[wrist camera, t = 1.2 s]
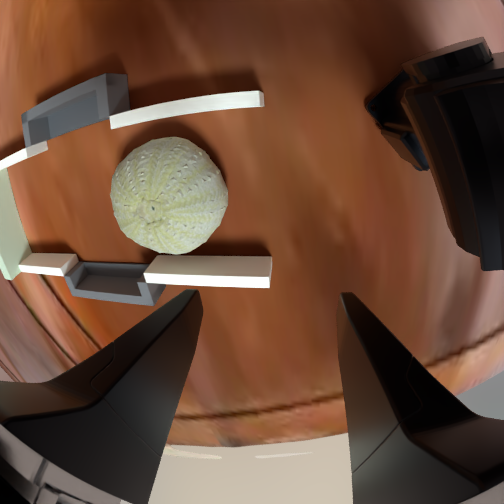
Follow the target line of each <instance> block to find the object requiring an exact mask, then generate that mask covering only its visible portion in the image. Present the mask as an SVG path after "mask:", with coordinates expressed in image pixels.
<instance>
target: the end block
mask: <svg viewBox="0 0 504 504" xmlns="http://www.w3.org/2000/svg"><path fill="white" fill-rule="evenodd" d="M30 254H32V251H31V249H30V246H29V243H28V241H27V238H26V235H25V232H24V229H23V226H22V223H21V220H20V217H19V214H18V210H17V207H16V203H15V200H14V196H13V192H12V188H11V184H10V180H9V176H8V171H7V167H6V168H4V169H2V170H0V268H1V271H2V273H3V275H4V277H5V279H8V280H13V279H14V278H15V277H16V276H17V275H18V274H19V273H20V272H21V270H20V268H19V264H20V263H21V262H22V261H23V260H24V259H26V258H27V257H28V256H29V255H30Z"/></svg>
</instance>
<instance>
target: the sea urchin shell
mask: <svg viewBox="0 0 504 504" xmlns="http://www.w3.org/2000/svg"><path fill="white" fill-rule="evenodd" d="M110 196H111V199H112V204H113V210H114V215H115V217H116V219H117V221H118V224H119V227H120V229H121V230H122V231H123V232H124V233H125V234H126V236H127V237H129V238H131V239H133V240H134V241H135V242H136V243H138V244H139V245H140V246H144V247H147V248H150V249H152V250H154V251H157V252H159V253H170V254H175V255H177V254H183V253H187V252H191V251H192V250H194V249H195V248H197V247H198V246H200V245H201V244H203V243H205V242H206V241H207V239H208V238H209V237H210V235H211V234H212V233H213V232H214V230H215V229H216V228H217V227H218V226H219V225H220V224H221V220H222V217H223V215H224V213H225V210H226V207H227V205H228V189H227V188H226V184H225V182H224V180H223V178H222V175H221V173H220V170H218V168H217V166H216V165H215V164H214V163H213V162H212V161H211V159H210V158H209V155H208V154H206V152H205V151H204V150H202V149H201V148H199V147H198V146H196V145H195V144H193V143H192V142H190V141H189V140H188V139H187V140H186V139H183V138H179V137H166V138H160V139H156V140H154V139H152V140H151V141H148V142H147V143H145V144H144V145H142V146H140V147H138V148H135V149H134V150H133V151H132V152H131V153H130V154H129V155H128V156H127V157H126V158H125V159H124V160H123V161H122V162H120V164H118V166H117V169H116V171H115V173H114V175H113V177H112V186H111V194H110Z"/></svg>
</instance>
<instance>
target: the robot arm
mask: <svg viewBox="0 0 504 504" xmlns="http://www.w3.org/2000/svg"><path fill="white" fill-rule="evenodd" d="M401 66H402V67H403V70H402V71H400V72H399V73H398V74H397V75H396V76H395V77H394V78H393V79H392V80H391V81H390V82H389V83H388V84H387V85H386V86H385V87H383V88H382V89H381V90H380V91H379V92H378V93H377V94H376V95H375V96H374V97H373V98H372V99H371V100H370V101H369V102H368V103H367V104H366V110H367V112H368V113H369V114H370V115H371V116H372V117H373V118H374V119H375V120H376V121H377V123H378V124H379V125H380V126H381V127H382V129H381V134H382V135H383V136H384V137H385V139H386V140H387V141H388V142H389V143H390V145H391V146H392V147H393V148H394V149H395V151H396V152H397V153H398V154H399V156H400V157H401V158H402V159H404V160H406V161H408V162H410V163H411V164H412V165H413V166H414V168H415V169H417V170H419V171H423V170H425V171H428V170H429V169H430V170H431V173H432V176H433V178H434V181H435V184H436V187H437V190H438V193H439V197H440V200H441V203H442V206H443V210H444V213H445V217H446V221H447V225H448V227H449V229H450V231H451V233H452V235H453V237H454V238H455V239H456V243H457V245H458V246H459V247H461V248H462V249H463V250H465V251H466V252H469V253H471V254H473V255H476V256H478V257H480V263H481V269H482V270H483V271H493V270H504V52H501V53H494V54H492V53H491V51H490V49H489V47H488V45H487V43H486V41H485V39H484V37H480V38H475V39H471V40H467V41H463V42H459V43H456V44H453V45H450V46H447V47H444V48H441V49H438V50H435V51H433V52H430V53H427V54H425V55H422V56H419V57H417V58H414V59H412V60H409V61H407V62H405V63H402V64H401ZM371 105H375V107H376V109H375V111H372V110H371ZM202 317H203V306H202V302H201V297H200V293H199V291H198V290H197V289H186V290H184V291H183V292H182V293H180V294H179V295H177V296H176V297H174V298H173V299H172V300H170V301H169V302H167V303H166V304H165V305H163V306H162V307H160V308H159V309H157V310H156V311H155V312H153V313H152V314H150V315H149V316H148V317H146V318H145V319H143V320H142V321H141V322H139V323H138V324H136V325H135V326H134V327H132V328H131V329H129V330H128V331H127V332H125V333H124V334H122V335H121V336H120V337H118V338H117V339H115V340H114V342H111V343H110V344H108V345H107V346H105V347H104V348H103V349H101V350H100V351H98V352H97V353H95V354H94V355H92V356H91V357H89V358H87V359H86V360H84V361H83V362H81V363H79V364H78V365H76V366H74V367H73V368H71V369H69V370H67V371H66V372H64V373H62V374H61V375H59V376H57V377H56V378H54V379H52V380H49V381H47V382H42V383H22V382H8V381H0V504H120V501H121V499H122V500H124V501H127V502H129V503H132V504H148V501H149V498H150V494H151V491H152V487H153V484H154V480H155V477H156V474H157V470H158V467H159V464H160V461H161V456H162V454H163V450H164V447H165V444H166V441H167V437H168V434H169V431H170V428H171V425H172V421H173V418H174V415H175V412H176V409H177V406H178V403H179V400H180V397H181V393H182V390H183V387H184V384H185V381H186V378H187V375H188V372H189V369H190V366H191V363H192V360H193V357H194V354H195V350H196V346H197V341H198V336H199V331H200V326H201V321H202ZM337 338H338V359H339V366H340V373H341V379H342V386H343V394H344V401H345V409H346V417H347V426H348V436H349V446H350V458H351V470H352V488H353V504H504V420H499V419H493V418H487V417H483V416H480V415H478V414H476V413H474V412H472V411H471V410H470V409H468V408H467V407H466V406H465V405H464V404H463V403H462V402H461V401H460V400H458V399H457V398H456V397H455V396H454V395H453V394H452V393H451V392H450V391H449V390H447V389H446V388H445V387H444V386H443V385H442V384H441V383H440V382H439V381H438V380H437V379H436V378H434V377H433V376H432V375H431V374H430V373H429V372H428V371H427V370H426V369H425V367H424V366H423V365H422V364H421V363H420V362H419V361H418V360H417V359H416V358H415V357H414V356H413V355H412V354H411V353H410V351H409V350H408V349H407V348H406V347H405V346H404V345H403V344H402V343H401V342H400V341H399V340H398V339H397V338H396V336H395V335H394V334H393V333H392V332H391V331H390V330H389V329H388V328H387V327H386V326H385V325H384V324H383V323H382V322H381V321H380V320H379V319H378V318H377V317H376V316H375V315H374V314H373V313H372V312H371V310H370V309H369V308H368V307H367V306H366V305H365V304H364V303H363V302H362V301H361V300H360V299H359V298H358V297H357V296H356V295H355V294H354V293H352V292H342V293H340V295H339V301H338V308H337ZM412 356H413V357H412Z"/></svg>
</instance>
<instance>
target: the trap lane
mask: <svg viewBox="0 0 504 504" xmlns="http://www.w3.org/2000/svg"><path fill="white" fill-rule="evenodd" d="M248 107H264V93H262V92H261V91H245V92H234V93H224V94H215V95H208V96H200V97H194V98H187V99H182V100H176V101H171V102H166V103H161V104H156V105H151V106H147V107H143V108H138V109H134V110H130V102H129V91H128V79H127V74H113V73H105V74H102V75H99V76H97V77H94V78H92V79H90V80H87V81H85V82H83V83H80V84H78V85H76V86H74V87H72V88H69V89H67V90H65V91H63V92H61V93H59V94H57V95H55V96H53V97H51V98H49V99H48V100H46V101H44V102H42V103H40V104H38V105H37V106H35V107H33V108H32V109H30V110H28V111H26V112H25V113H23V114H22V115H21V116H22V125H23V133H24V140H25V146H26V148H24V149H22V150H20V151H18V152H16V153H14V154H12V155H10V156H8V157H6V158H4V159H3V160H1V161H0V170H2V169H4V168H6V167H8V166H11V165H13V164H15V163H17V162H20V161H22V160H24V159H26V158H29V157H31V156H34V155H36V154H39V153H41V152H44V151H46V150H48V147H47V140H49V139H52V138H54V137H57V136H60V135H62V134H65V133H67V132H70V131H73V130H76V129H79V128H82V127H85V126H88V125H91V124H94V123H97V122H100V121H103V120H107V119H110V124H111V129H115V128H119V127H123V126H128V125H132V124H137V123H141V122H146V121H151V120H156V119H161V118H167V117H172V116H178V115H185V114H191V113H198V112H206V111H215V110H224V109H235V108H248ZM19 268H20V270H21V272H29V273H38V274H48V275H57V276H64V278H65V280H66V282H67V285H68V287H69V289H70V291H71V293H72V296H78V297H85V298H92V299H99V300H107V301H115V302H123V303H132V304H141V305H151V306H154V305H155V304H156V302H157V300H158V299H159V297H160V295H161V294H162V292H163V291H164V289H165V287H166V285H165V284H177V285H197V286H221V287H253V288H269V286H270V279H271V271H272V256H184V255H157V256H156V258H155V259H154V260H153V261H152V263H151V264H133V263H104V262H79V261H78V258H77V255H76V254H59V253H32V254H30V255H29V256H28V257H27V258H26V259H24V260H23V261H22V262H21V263H20V264H19Z"/></svg>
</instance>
